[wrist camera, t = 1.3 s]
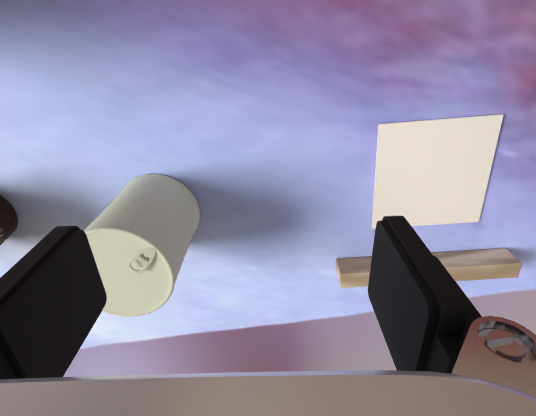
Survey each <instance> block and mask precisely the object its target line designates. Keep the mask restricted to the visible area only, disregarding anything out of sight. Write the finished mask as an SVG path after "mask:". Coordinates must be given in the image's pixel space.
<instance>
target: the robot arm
mask: <svg viewBox="0 0 536 416" xmlns="http://www.w3.org/2000/svg"><path fill="white" fill-rule="evenodd" d="M368 294H369V298H370V301H371V304H372V306H373V309H374V312H375V314H376V316H377V319H378V322H379V325H380V327H381V330H382V332H383V335H384V338H385V340H386V343H387V346H388V348H389V351H390V354H391V356H392V359H393V361H394V364H395V367H396V369H397V371H386V370H380V371H376V370H375V371H296V372H295V371H294V372H246V373H245V372H241V373H201V374H200V373H199V374H159V375H120V376H87V377H63V375H64V374H65V372H66V370H67V369H68V367H69V365H70V364H71V362H72V360H73V359H74V357H75V355H76V354H77V352H78V350H79V349H80V347H81V345H82V344H83V342H84V340H85V339H86V337H87V335H88V333H89V332H90V330H91V328H92V327H93V325H94V323H95V322H96V320H97V318H98V317H99V315H100V313H101V312H102V310H103V308H104V306H105V304H106V301H107V295H106V291H105V288H104V285H103V283H102V280H101V277H100V274H99V271H98V268H97V265H96V262H95V259H94V256H93V253H92V250H91V247H90V244H89V241H88V238H87V235H86V233H85V232H84V231H83V230H80V228H79V227H77V226H59V227H56V228H54V229H53V230H52V231H51V232H50V233H49V234H48V235H46V236H45V237H44V238H43V239H42V240H41V241H40V242H39V243H38V244H37V245H36V246H35V247H33V248H32V249H31V250H30V251H29V252H28V253H27V254H26V255H25V256H24V257H23V258H22V259H20V260H19V261H18V262H17V263H16V264H15V265H14V266H13V267H12V268H11V269H10V270H9V271H8V272H6V273H5V274H4V275H3V276H2V277H1V278H0V416H536V335H535V334H534V333H532V332H531V331H530V330H528V329H527V328H525V327H524V326H522V325H520V324H518V323H515V322H514V321H511V320H508V319H505V318H501V317H494V316H486V317H482V316H481V315H480V314H479V312H478V311H477V310H476V308H475V307H474V306H473V304H472V303H471V302H470V300H469V299H468V298H467V296H466V295H465V294H464V292H463V291H462V290H461V288H460V287H459V286H458V284H457V283H456V282H455V280H454V279H453V278H452V276H451V275H450V274H449V272H448V271H447V270H446V268H445V267H444V266H443V264H442V263H441V262H440V260H439V259H438V258H437V257H436V256H433V255H432V254H431V252H430V251H429V250H428V248H427V247H426V245H425V244H424V243H423V241H422V240H421V239H420V237H419V236H418V235H417V233H416V232H415V231H414V229H413V228H412V227H411V225H410V224H409V222H408V221H407V220H406V218H405V217H404V216H384V217H383V219H382V221H377V224H376V230H375V237H374V245H373V253H372V260H371V268H370V275H369V283H368Z"/></svg>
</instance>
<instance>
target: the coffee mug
mask: <svg viewBox="0 0 536 416" xmlns="http://www.w3.org/2000/svg"><path fill="white" fill-rule="evenodd" d="M17 224H18V218H17V214H16V212H15V210H14V208H13V207H12V205H11V204H10V203H9V202H8V201H7V200H6V199H5V198H4V197H2V196H1V195H0V245H1V244H2V243H3V242H4V241H5V240H6V239H7V238H8V237H9V236H10V235H11V234H12V233H13V232H14V231H15V229H16V228H17Z"/></svg>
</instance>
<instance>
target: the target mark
mask: <svg viewBox="0 0 536 416" xmlns="http://www.w3.org/2000/svg"><path fill="white" fill-rule="evenodd" d="M503 115H504V114H497V115H485V116H472V117H460V118H447V119H435V120H422V121H410V122H397V123H384V124H378V139H377V154H376V169H375V184H374V199H373V214H372V229H376V224H377V221H382V219H383V217H384V216H404V217H405V218H406V220H407V221H408V222H409V224H410V225H411V226H422V225H437V224H452V223H467V222H479V219H480V214H481V210H482V206H483V201H484V197H485V193H486V189H487V184H488V180H489V176H490V171H491V167H492V163H493V158H494V154H495V150H496V145H497V141H498V137H499V132H500V128H501V124H502V120H503Z"/></svg>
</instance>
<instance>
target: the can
mask: <svg viewBox="0 0 536 416" xmlns="http://www.w3.org/2000/svg"><path fill="white" fill-rule="evenodd" d="M199 222H200V209H199V206H198V203H197V200H196V198H195V197H194V195H193V194H192V192H191V191H190V190H189V189H188V188H187V187H186V186H185V185H183V184H182V183H180V182H179V181H177V180H175V179H173V178H171V177H168V176H165V175H160V174H147V175H142V176H139V177H136V178H134V179H132V180H131V181H129V182H128V183H127V184H126V185H125V186H124V187H123V189H122V190H121V192H120V194H119V195H118V196H117V197H116V198H115V199H114V200H113V201H112V202H111V203H110V204H109V205H108V206H107V207H106V208H105V209H104V210H103V211H102V213H101V214H100V215H99V216H98V217H97V218H96V219H95V220H94V221H93V222H92V223H91V224H90V225H89V226H88V227H87V228H86V229H85V230H84V232H85V233H86V235H87V238H88V241H89V244H90V247H91V250H92V253H93V256H94V259H95V262H96V265H97V268H98V271H99V274H100V277H101V280H102V283H103V285H104V288H105V291H106V295H107V301H106V304H105V306H104V308H103V310H102V311H103V312H106V313H110V314H114V315H119V316H140V315H145V314H148V313H151V312H153V311H155V310H157V309H159V308H160V307H161V306H163V305H164V304H165V303H166V302H167V300H168V299H169V298H170V296H171V294H172V292H173V289H174V284H175V281H176V278H177V275H178V273H179V270H180V267H181V265H182V262H183V260H184V257H185V254H186V252H187V249H188V247H189V244H190V242H191V239H192V237H193V235H194V233H195V232H196V230H197V228H198V225H199Z"/></svg>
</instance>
